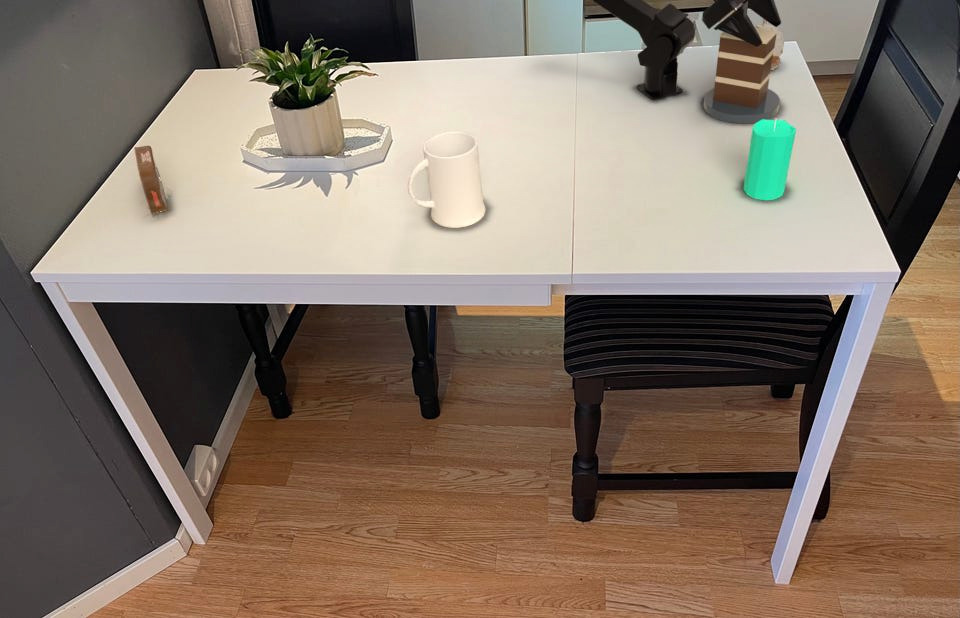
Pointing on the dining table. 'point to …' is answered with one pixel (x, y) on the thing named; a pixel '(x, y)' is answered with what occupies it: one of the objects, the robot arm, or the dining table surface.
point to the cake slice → (744, 69)
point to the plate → (741, 109)
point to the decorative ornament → (778, 43)
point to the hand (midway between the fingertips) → (769, 34)
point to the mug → (452, 179)
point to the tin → (150, 179)
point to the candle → (769, 159)
